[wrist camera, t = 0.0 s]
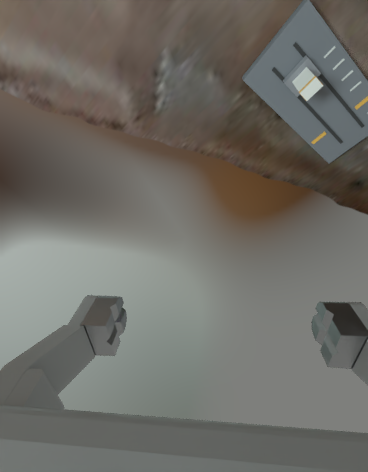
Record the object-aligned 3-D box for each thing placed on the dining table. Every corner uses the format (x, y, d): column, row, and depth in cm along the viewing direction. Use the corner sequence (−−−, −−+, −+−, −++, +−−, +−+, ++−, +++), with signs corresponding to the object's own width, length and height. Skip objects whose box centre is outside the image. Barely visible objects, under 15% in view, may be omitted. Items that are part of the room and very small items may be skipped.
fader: (305, 55, 43) (318, 67, 38) (318, 70, 44) (332, 84, 40) (282, 80, 46) (291, 94, 41) (295, 94, 48) (305, 109, 43)
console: (305, -3, 39) (309, -1, 38) (388, 113, 51) (394, 117, 50) (242, 77, 48) (243, 80, 46) (326, 159, 60) (329, 164, 59)
